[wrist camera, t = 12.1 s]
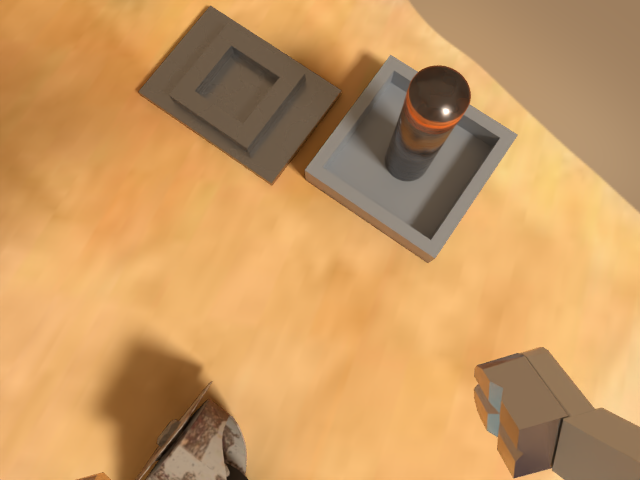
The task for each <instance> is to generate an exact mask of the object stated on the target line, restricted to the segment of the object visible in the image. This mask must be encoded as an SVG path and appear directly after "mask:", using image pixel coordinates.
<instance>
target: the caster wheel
mask: <svg viewBox="0 0 640 480" xmlns="http://www.w3.org/2000/svg"><path fill="white" fill-rule="evenodd" d="M211 383H212V381H211V382H210V383H209V384H208V385H207V386H206V388H205V389H204V390H203V391H202V393H201V394H200V395H199V396H198V398H197V399H196V400H195V401H194V403H193V404H192V405H191V406H190V408H189V409H188V410H187V411H186V413H185V414H184V415H183V416H182V418H181V419H180V420H179V421H177V420H176V419H175V420H172V421H171V422H170V423H169V424H168V425H167V427H166V428H165V429H164V431H163V432H162V433H161V435H160V436H159V437H158V439H157V444H158V445H159V446H158V448H157V449H156V451H155V452H154V454H153V455H152V457H151V458H150V459H149V461H148V462H147V464H146V465H145V467H144V468H143V469H142V471H141V472H140V474H139V475H138V477H137V478H136V480H140V479H141V478H142V476H143V475H144V474H145V473H146V471H147V470H148V469H149V468H150V466H151V465H152V464H153V463H154V461H158V460H159V461H158V462H157V464H156V465H155V467H154V468H153V469H152V471H151V472H150V474H149V475H148V476H147V478H146V479H145V480H248V479H247V478H246V477H245V472H246V461H247V452H246V445H245V440H244V437H243V434H242V432H241V429H240V427H239V426H238V424H237V422H236V421H235V419H234V418H233V417H232V416H231V415H229V414H228V413H227V412H226V411H224V410H223V409H222V408H220V407H219V406H218V405H216V404H215V403H214V402H213V401H211V400H210V399H208V400H207V401H206V402H205V403H204V404H203V405H202V406H201V407H200V408H199V409H198V410H197V411H196V412H195V413H194V414H193V415H192V416H191V414H192V412H193V410H194V409H195V407H196V406H197V404H198V403H199V401H200V400H201V398H202V397H203V395H204V394H205V392H206V391H207V389H208V387H209V386H210V384H211Z"/></svg>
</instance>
